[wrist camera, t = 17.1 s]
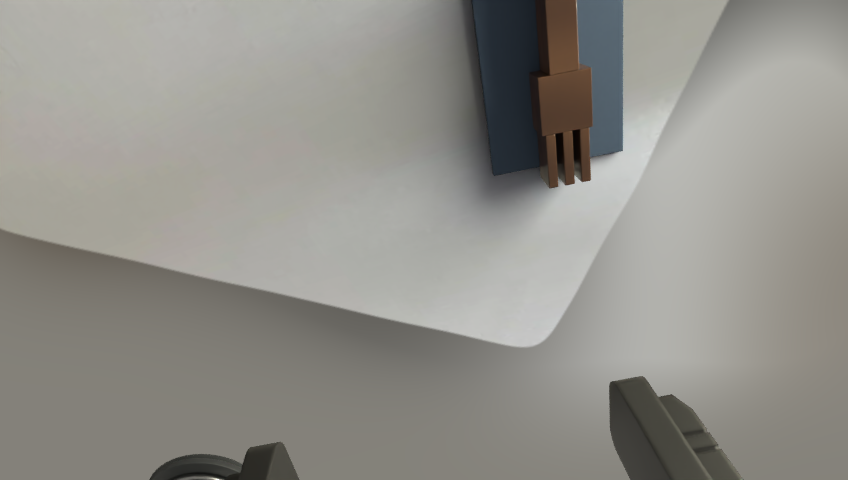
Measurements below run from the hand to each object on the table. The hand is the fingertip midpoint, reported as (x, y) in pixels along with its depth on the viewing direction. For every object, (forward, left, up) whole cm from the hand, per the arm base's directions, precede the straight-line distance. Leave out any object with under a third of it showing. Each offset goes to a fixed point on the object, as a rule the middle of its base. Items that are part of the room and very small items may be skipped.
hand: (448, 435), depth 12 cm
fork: (+4, -11, -28) cm, 30 cm away
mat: (+4, -11, -28) cm, 31 cm away
